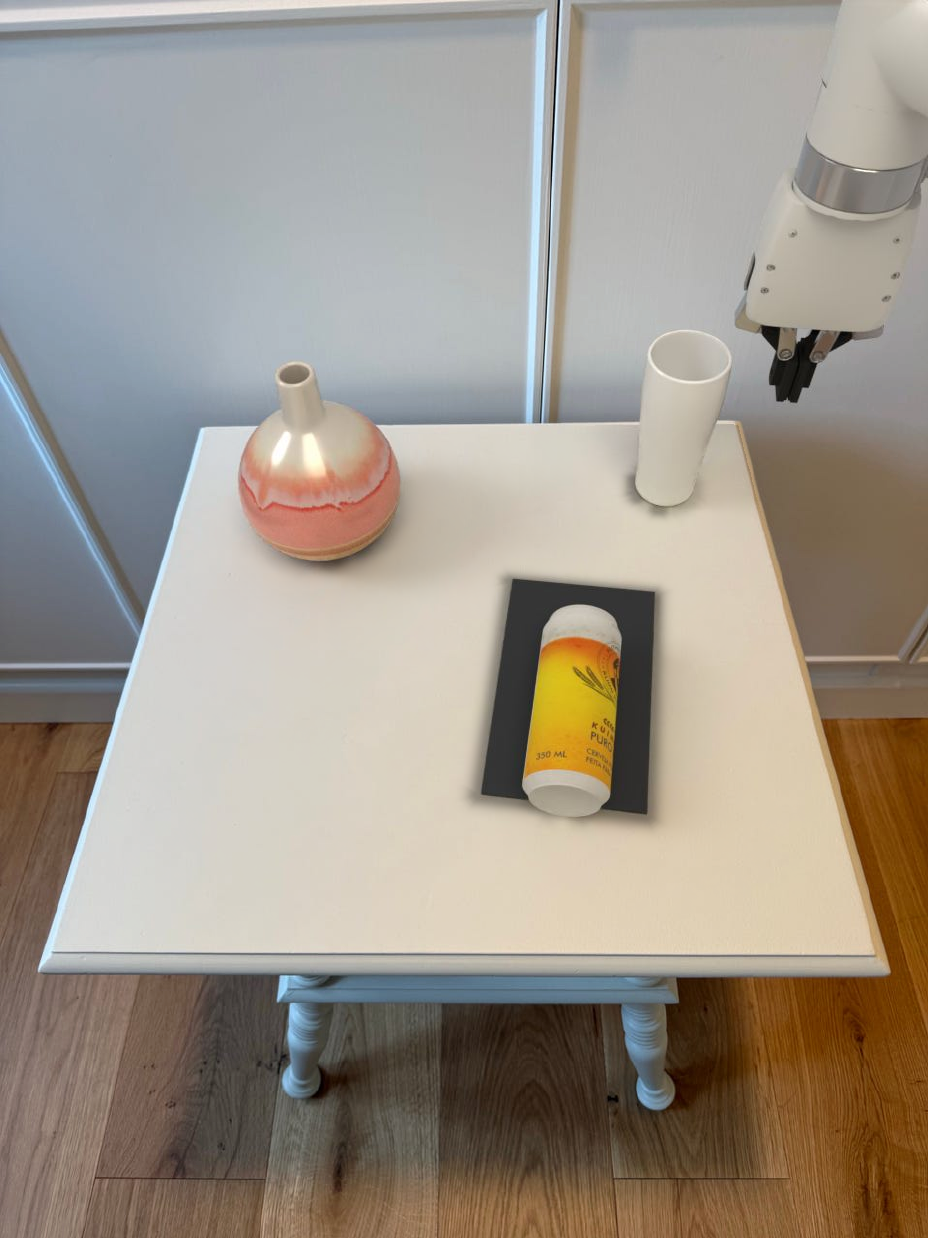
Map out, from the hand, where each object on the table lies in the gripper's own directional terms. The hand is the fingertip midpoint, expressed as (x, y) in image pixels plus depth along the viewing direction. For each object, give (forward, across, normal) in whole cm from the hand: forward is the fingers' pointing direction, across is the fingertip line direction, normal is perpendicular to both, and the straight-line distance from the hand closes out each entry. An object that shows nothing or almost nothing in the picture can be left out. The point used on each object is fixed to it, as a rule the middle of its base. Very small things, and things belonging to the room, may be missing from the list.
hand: (785, 390), depth 74 cm
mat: (+12, +14, +23) cm, 29 cm away
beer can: (+8, +14, +34) cm, 38 cm away
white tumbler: (+12, +8, 0) cm, 15 cm away
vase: (+12, +37, +9) cm, 40 cm away
